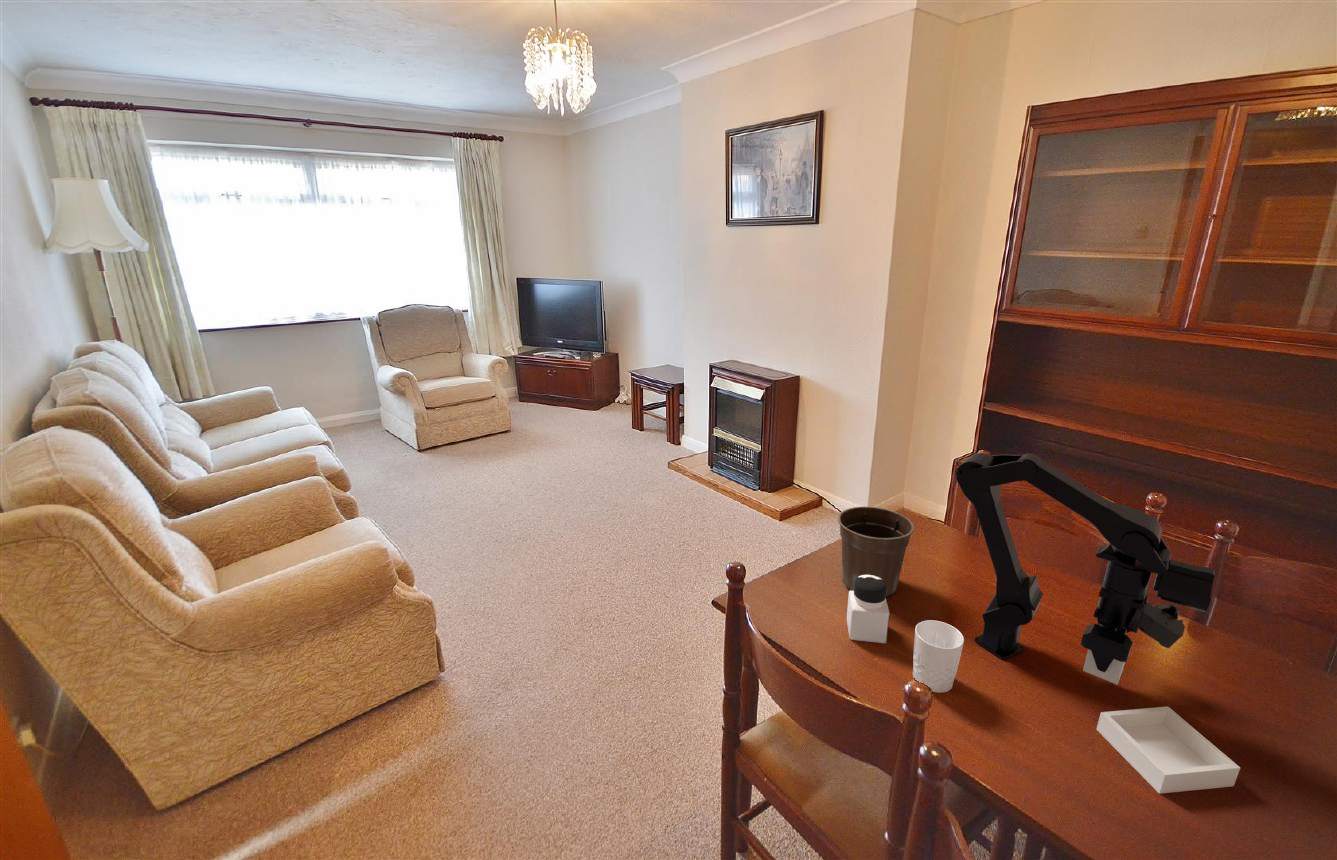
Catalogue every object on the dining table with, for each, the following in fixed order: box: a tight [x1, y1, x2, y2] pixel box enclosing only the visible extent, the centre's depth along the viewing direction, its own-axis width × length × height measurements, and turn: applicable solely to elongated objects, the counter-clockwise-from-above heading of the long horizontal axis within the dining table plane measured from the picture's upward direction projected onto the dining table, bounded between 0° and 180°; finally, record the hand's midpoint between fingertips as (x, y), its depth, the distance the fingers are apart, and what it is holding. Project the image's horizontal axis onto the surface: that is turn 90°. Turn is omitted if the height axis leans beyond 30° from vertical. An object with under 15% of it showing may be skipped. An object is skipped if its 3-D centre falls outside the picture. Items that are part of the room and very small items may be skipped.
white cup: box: [912, 619, 965, 694], centre depth 105 cm, size 8×8×10 cm
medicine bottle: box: [846, 575, 891, 644], centre depth 118 cm, size 7×7×12 cm
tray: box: [1096, 706, 1241, 794], centre depth 89 cm, size 12×12×4 cm
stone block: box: [1082, 649, 1126, 686], centre depth 102 cm, size 5×5×6 cm
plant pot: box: [837, 506, 915, 597], centre depth 133 cm, size 16×16×16 cm
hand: (1104, 663), depth 103 cm, fingers closed on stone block, 5 cm apart
